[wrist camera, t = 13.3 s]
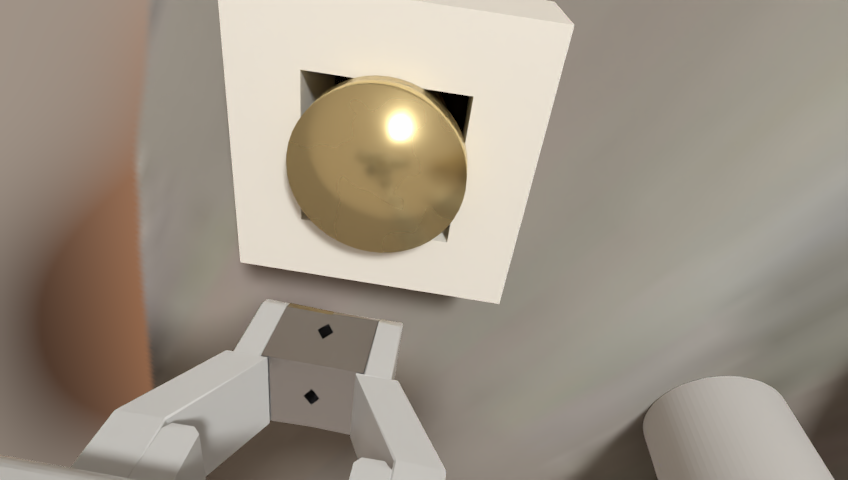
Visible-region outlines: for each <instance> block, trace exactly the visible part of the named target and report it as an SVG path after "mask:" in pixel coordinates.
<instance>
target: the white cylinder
mask: <svg viewBox="0 0 848 480" xmlns="http://www.w3.org/2000/svg"><path fill="white" fill-rule="evenodd" d="M643 433H644V437H645V440H646V443H647V446H648V449H649V453H650V456H651V459H652V462H653V465H654V469H655V472H656V475H657V478H658V480H834V478H833V477H832V475H831V473H830V472H829V470H828V469H827V467H826V465H825V464H824V462H823V461H822V459H821V457H820V456H819V454H818V453H817V451H816V449H815V448H814V446H813V445H812V443H811V441H810V440H809V438H808V437H807V435H806V433H805V432H804V430H803V429H802V427H801V425H800V424H799V422H798V421H797V419H796V417H795V416H794V414H793V413H792V411H791V409H790V408H789V406H788V405H787V403H786V401H785V400H784V398H783V397H782V396H781V395H780V393H779V392H777V391H776V390H775V389H774V388H772V387H771V386H769V385H767V384H765V383H763V382H760V381H757V380H754V379H750V378H745V377H737V376H717V377H709V378H703V379H699V380H695V381H691V382H688V383H685V384H683V385H680V386H678V387H676V388H674V389H672V390H670V391H669V392H667V393H665V394H664V395H663V396H661V397H660V398H659V399H658V400H657V401H656V402H655V403H654V404H653V405H652V406H651V407H650V408H649V410H648V412H647V413H646V415H645V418H644V421H643Z"/></svg>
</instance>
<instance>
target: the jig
mask: <svg viewBox="0 0 848 480" xmlns="http://www.w3.org/2000/svg"><path fill="white" fill-rule="evenodd" d="M218 5H219V17H220V28H221V40H222V52H223V63H224V75H225V87H226V99H227V110H228V122H229V134H230V146H231V157H232V169H233V181H234V192H235V204H236V216H237V228H238V239H239V251H240V262H242V263H248V264H254V265H261V266H267V267H273V268H279V269H285V270H292V271H298V272H304V273H310V274H317V275H323V276H329V277H335V278H341V279H348V280H354V281H360V282H366V283H373V284H379V285H385V286H391V287H397V288H404V289H410V290H416V291H422V292H429V293H435V294H441V295H447V296H453V297H460V298H466V299H472V300H478V301H485V302H491V303H497V304H499V303H500V299H501V295H502V292H503V288H504V284H505V281H506V277H507V273H508V269H509V266H510V262H511V258H512V255H513V251H514V247H515V244H516V240H517V236H518V232H519V229H520V225H521V221H522V218H523V214H524V210H525V206H526V203H527V199H528V195H529V192H530V188H531V184H532V180H533V177H534V173H535V169H536V166H537V162H538V158H539V155H540V151H541V147H542V143H543V140H544V136H545V132H546V129H547V125H548V121H549V117H550V114H551V110H552V106H553V103H554V99H555V95H556V91H557V88H558V84H559V80H560V77H561V73H562V69H563V66H564V62H565V58H566V54H567V51H568V47H569V43H570V40H571V36H572V32H573V28H574V24H573V23H572V22H571V20H570V19H569V18H568V17H567V16H566V15H565V13H564V12H563V11H562V10H561V9H560V8H559V6H558V5H557V4H556V3H555V2H553V1H547V0H218ZM335 75H338V76H344V77H351V78H356V77H361V76H372V75H379V76H389V77H394V78H398V79H402V80H405V81H408V82H410V83H413V84H415V85H417V86H419V87H421V88H423V89H428V90H434V91H441V92H447V93H453V94H460V95H466V96H469V99H468V105H467V110H466V116H465V121H464V127H463V133H462V135H463V138H464V141H465V145H466V151H467V164H468V166H467V182H466V191H465V195H464V199H463V202H462V204H461V207H460V209H459V211H458V213H457V214H456V216H455V218H454V219H453V221H452V222H451V223H450V224H449V226H448V227H447V228H446V229H445V230H444V231H443V232H441V233H440V234H439V235H438V236H436V237H435V238H434V239H432V240H431V241H429V242H427V243H425V244H423V245H421V246H418V247H416V248H413V249H409V250H405V251H400V252H392V253H378V252H369V251H364V250H360V249H356V248H353V247H350V246H348V245H345V244H343V243H341V242H339V241H337V240H335V239H333V238H332V237H330V236H328V235H327V234H326V233H324V232H323V231H322V230H320V229H319V228H318V227H317V226H316V225H315V224H314V223H313V222H312V221H311V220H310V219H309V218H308V217H307V216H306V215H305V213H304V212H303V210H302V209H301V208H300V206H299V205H298V203H297V201H296V199H295V197H294V195H293V193H292V190H291V187H290V185H289V180H288V176H287V169H286V152H287V147H288V142H289V139H290V136H291V133H292V131H293V129H294V127H295V125H296V123H297V122H298V120H299V119H300V118H301V116H302V115H303V114H304V112H305V111H306V110H307V109H308V108H309V107H310V106H311V105H312V103H313V102H314V101H315V100H316V99H317V98H318V97H319V96H320V95H321V94H323V93H324V92H325V91H327V90H328V89H329V88H331V87H333V86H335Z"/></svg>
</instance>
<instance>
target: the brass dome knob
mask: <svg viewBox="0 0 848 480" xmlns="http://www.w3.org/2000/svg"><path fill="white" fill-rule="evenodd" d="M467 166H468V164H467V151H466V145H465V141H464V138H463V135H462V132H461V130H460V128H459V126H458V124H457V122H456V121H455V119H454V118H453V116H452V115H451V113H450V112H449V111H448V109H447V106H446V103H445V101H444V98H443V96H442V95H441V93H440V92H439V91H434V90H428V89H423V88H421V87H419V86H417V85H415V84H413V83H410V82H408V81H405V80H402V79H398V78H394V77H389V76H379V75H372V76H361V77H356V78H351V79H349V80H346V81H343V82H340V83H338V84H336V85H335V86H333V87H331V88H329V89H328V90H327V91H325V92H324V93H323V94H321V95H320V96H319V97H318V98H317V99H316V100H315V101H314V102H313V103H312V105H311V106H310V107H309V108H308V109H307V110H306V111H305V112H304V114H303V115H302V116H301V118H300V119H299V120H298V122H297V123H296V125H295V127H294V129H293V131H292V133H291V136H290V139H289V142H288V147H287V152H286V169H287V176H288V180H289V185H290V187H291V190H292V193H293V195H294V197H295V199H296V201H297V203H298V205H299V206H300V208H301V209H302V210H303V212H304V213H305V215H306V216H307V217H308V218H309V219H310V220H311V221H312V222H313V223H314V224H315V225H316V226H317V227H318V228H319V229H320V230H322V231H323V232H324V233H326V234H327V235H328V236H330V237H332V238H333V239H335V240H337V241H339V242H341V243H343V244H345V245H348V246H350V247H353V248H356V249H360V250H364V251H369V252H378V253H392V252H400V251H405V250H409V249H413V248H416V247H418V246H421V245H423V244H425V243H427V242H429V241H431V240H432V239H434V238H435V237H436V236H438V235H439V234H440V233H441V232H443V231H444V230H445V229H446V228H447V227H448V226H449V224H450V223H451V222H452V221H453V219H454V218H455V216H456V214H457V213H458V211H459V209H460V207H461V204H462V202H463V199H464V195H465V191H466V182H467Z"/></svg>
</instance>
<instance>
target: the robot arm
mask: <svg viewBox="0 0 848 480" xmlns="http://www.w3.org/2000/svg"><path fill="white" fill-rule="evenodd" d="M402 329H403V324H402V323H400V322H394V321H388V320H381V319H380V320H379V319H373V318H367V317H361V316H356V315H350V314H344V313H338V312H332V311H327V310H322V309H317V308H312V307H307V306H302V305H297V304H292V303H290V304H289V303H285V302H280V301H275V300H270V299H267V300H265V301H264V302H263V303H262V304H261V306H260V307H259V309H258V311H257V312H256V314H255V316H254V317H253V319H252V321H251V322H250V324H249V326H248V327H247V329H246V331H245V332H244V334H243V336H242V337H241V339H240V341H239V342H238V344H237V346H236V347H235V349H234V351H229V350H225V351H223V352H222V353H220V354H218V355H216V356H214V357H212V358H210V359H209V360H207V361H205V362H203V363H201V364H199V365H197V366H196V367H194V368H192V369H190V370H188V371H186V372H184V373H183V374H181V375H179V376H177V377H175V378H173V379H171V380H170V381H168V382H166V383H164V384H162V385H160V386H158V387H157V388H155V389H153V390H151V391H149V392H147V393H145V394H144V395H142V396H140V397H138V398H136V399H134V400H133V401H131V402H129V403H127V404H125V405H123V406H121V407H119V408H118V409H116V410H114V412H113V413H112V414H111V415H110V417H109V418H108V419H107V421H106V422H105V423H104V425H103V426H102V427H101V429H100V430H99V431H98V432H97V434H96V435H95V436H94V437H93V439H92V440H91V442H90V443H89V444H88V445H87V447H86V448H85V449H84V450H83V452H82V453H81V454H80V455H79V457H78V458H77V459H76V461H75V462H74V463H73V465H72V466H71V467H64V466H59V465H53V464H47V463H42V462H37V461H32V460H26V459H21V458H15V457H10V456H4V455H0V480H206V476H207V475H208V474H210V473H211V472H212V471H213V470H214V469H215V468H217V467H218V466H219V465H220V464H221V463H223V462H224V461H225V460H226V459H227V458H229V457H230V456H231V455H232V454H233V453H235V452H236V451H237V450H238V449H239V448H241V447H242V446H243V445H244V444H245V443H246V442H248V441H249V440H250V439H251V438H252V437H254V436H255V435H256V434H257V433H258V432H260V431H261V430H262V429H263V428H264V427H266V426H267V425H268V424H269V423H270V420H271V421H277V422H284V423H290V424H297V425H303V426H310V427H315V428H320V429H324V430H329V431H334V432H339V433H343V434H348V435H350V438H351V441H352V444H353V447H354V450H355V453H356V457H357V461H355V462H354V463H353V467H352V471H351V474H350V478H349V480H445V479H446V470H445V468H444V466H443V464H442V462H441V461H440V459H439V457H438V455H437V453H436V451H435V449H434V447H433V445H432V444H431V442H430V440H429V438H428V436H427V434H426V432H425V430H424V428H423V427H422V425H421V423H420V421H419V419H418V417H417V415H416V413H415V412H414V410H413V408H412V406H411V404H410V402H409V400H408V398H407V396H406V395H405V393H404V391H403V389H402V387H401V385H400V383H399V381H397V380H395V373H396V367H397V361H398V354H399V348H400V342H401V335H402Z"/></svg>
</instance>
